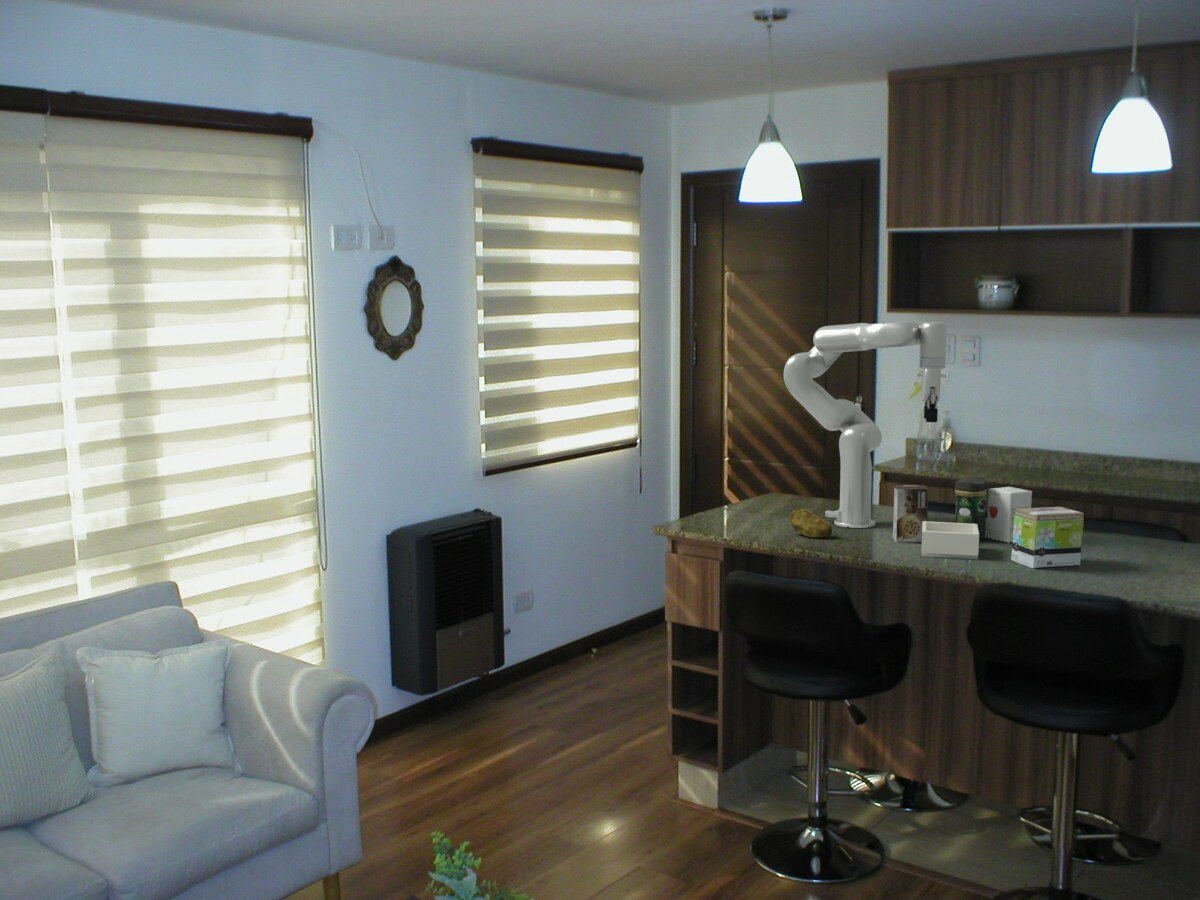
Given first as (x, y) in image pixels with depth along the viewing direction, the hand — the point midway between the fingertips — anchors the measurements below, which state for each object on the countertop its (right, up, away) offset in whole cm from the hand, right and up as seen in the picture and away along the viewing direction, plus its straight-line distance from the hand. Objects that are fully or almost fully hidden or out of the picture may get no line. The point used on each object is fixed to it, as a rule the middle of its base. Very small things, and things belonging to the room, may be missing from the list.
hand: (930, 420), depth 352 cm
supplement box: (+21, -36, -5) cm, 42 cm away
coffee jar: (+10, -36, -5) cm, 37 cm away
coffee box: (-8, -36, -6) cm, 37 cm away
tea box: (+21, -40, -35) cm, 57 cm away
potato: (-36, -35, 0) cm, 50 cm away
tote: (-1, -38, -22) cm, 43 cm away
